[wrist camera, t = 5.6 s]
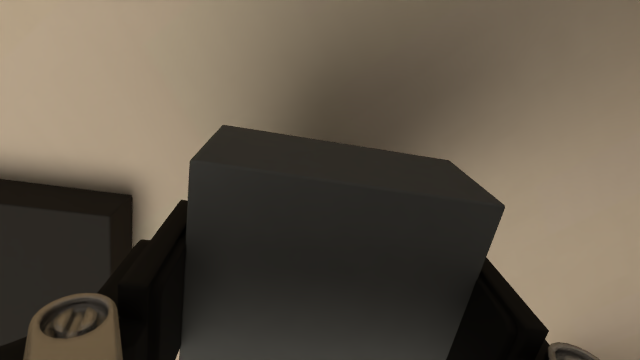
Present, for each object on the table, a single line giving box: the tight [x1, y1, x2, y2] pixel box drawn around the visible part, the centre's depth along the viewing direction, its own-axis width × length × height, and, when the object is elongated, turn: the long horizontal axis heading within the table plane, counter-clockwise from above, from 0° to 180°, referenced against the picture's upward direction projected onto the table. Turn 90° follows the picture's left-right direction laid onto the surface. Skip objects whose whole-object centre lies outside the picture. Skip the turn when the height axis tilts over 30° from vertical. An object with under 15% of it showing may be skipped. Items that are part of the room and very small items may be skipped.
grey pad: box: [179, 125, 505, 360], centre depth 11 cm, size 7×7×3 cm
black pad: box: [0, 179, 132, 346], centre depth 18 cm, size 10×10×2 cm
